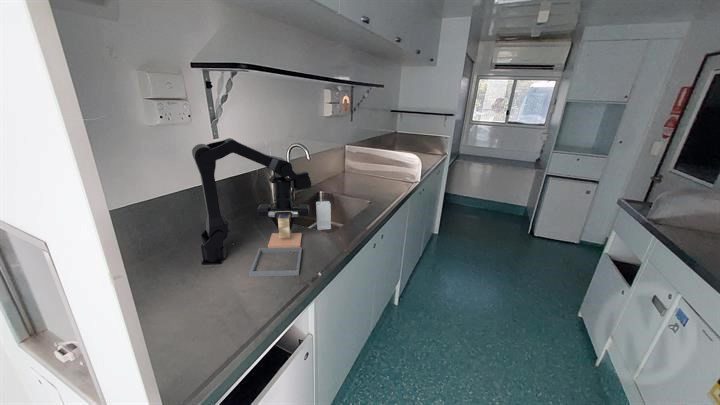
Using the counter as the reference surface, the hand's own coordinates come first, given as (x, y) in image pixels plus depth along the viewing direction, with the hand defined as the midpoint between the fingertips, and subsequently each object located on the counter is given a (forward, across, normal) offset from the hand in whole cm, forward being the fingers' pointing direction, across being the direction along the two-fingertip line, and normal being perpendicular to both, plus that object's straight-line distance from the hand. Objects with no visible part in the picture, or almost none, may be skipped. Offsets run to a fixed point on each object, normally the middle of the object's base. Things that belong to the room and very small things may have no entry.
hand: (284, 230), depth 113 cm
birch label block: (+2, 0, 0) cm, 2 cm away
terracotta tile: (+5, 0, 0) cm, 5 cm away
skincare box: (+5, -15, -12) cm, 20 cm away
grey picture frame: (+5, +1, +15) cm, 16 cm away
